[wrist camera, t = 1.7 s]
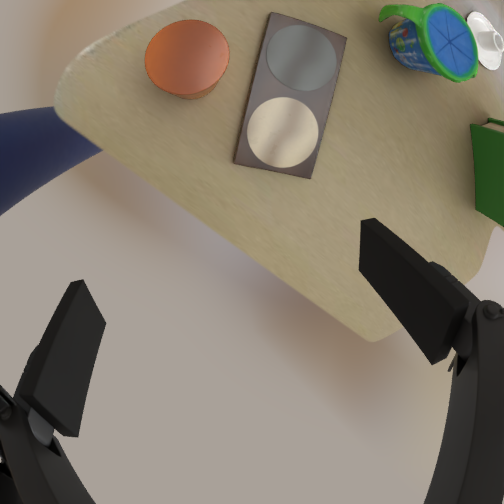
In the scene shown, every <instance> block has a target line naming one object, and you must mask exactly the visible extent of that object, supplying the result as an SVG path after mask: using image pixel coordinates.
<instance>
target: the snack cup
mask: <svg viewBox="0 0 504 504" xmlns="http://www.w3.org/2000/svg"><path fill="white" fill-rule="evenodd" d="M392 15H398V16H401V17H404V18H406V19H405V20H403V21H401V22H399V23H397V24H395V25H394V26H393V28H392V29H391V30H390V32H389V43H390V48H391V50H392V52H393V56H394V57H395V59H397V60H398V61H399V62H400V63H401V64H403V65H404V66H406V67H408V68H410V69H413V70H418V71H422V72H427V73H432V74H436V75H440V76H443V77H445V78H447V79H449V80H451V81H453V82H458V83H460V82H461V81H466V80H469V79H470V78H474V77H476V74H477V70H478V48H477V44H476V40H475V38H474V35H473V33H472V31H471V29H470V27H469V26H468V24H467V22H466V21H465V20H464V18H463V17H462V16H461V15H460V14H459V13H458V12H456V11H455V10H454V9H452V8H451V7H449V6H447V5H444V4H442V3H437V4H431V5H428V6H426V7H424V8H419V7H415V6H409V5H386V6H384V7H383V8H382V10H381V12H380V16H379V22H382V21H383V20H384V19H386V18H388V17H389V16H392Z"/></svg>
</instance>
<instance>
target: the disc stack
mask: <svg viewBox="0 0 504 504" xmlns="http://www.w3.org/2000/svg"><path fill="white" fill-rule="evenodd" d="M228 62H229V46H228V43H227V41H226V39H225V37H224V35H223V34H222V33H221V32H220V31H219V30H218V29H217V28H216V27H214V26H213V25H211V24H209V23H206V22H203V21H199V20H182V21H178V22H175V23H172V24H170V25H168V26H166V27H164V28H163V29H162V30H160V31H159V32H158V33H157V34H156V35H155V36H154V37H153V38H152V40H151V41H150V43H149V45H148V47H147V50H146V54H145V68H146V71H147V74H148V76H149V78H150V79H151V81H152V82H153V83H154V84H155V85H156V86H157V87H159V88H160V89H162V90H164V91H166V92H168V93H171V94H173V95H176V96H178V97H180V98H184V99H198V98H201V97H203V96H205V95H207V94H208V93H210V92H211V91H212V90H213V89H214V88H215V86H216V85H217V83H218V82H219V80H220V78H221V77H222V75H223V74H224V72H225V70H226V68H227V65H228Z"/></svg>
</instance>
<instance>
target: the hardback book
mask: <svg viewBox="0 0 504 504" xmlns="http://www.w3.org/2000/svg"><path fill="white" fill-rule="evenodd" d="M470 128H471V136H472V145H473V155H474V168H475V190H476V210H477V211H479V212H481V213H482V214H484V215H485V216H487V217H489V218H490V219H492V220H494V221H495V222H497V223H498V224H500V225H501V226H503V227H504V121H500V120H497V119H493V118H488V124H485V125H482V126H479V125H476V124H470Z"/></svg>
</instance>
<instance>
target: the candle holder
mask: <svg viewBox="0 0 504 504" xmlns="http://www.w3.org/2000/svg"><path fill="white" fill-rule="evenodd" d="M467 24H468V26H469V27H470V29H471V31H472V33H473V35H474V38H475V40H476V44H477V48H478V60H479V61H480V62H481V63H482V65H483V66H485V67H486V68H487V69H489V70H495V69H497V68H498V67H499V65H500V62H501V52H503V51H504V42H503V39H502V37H501V35H500V34H499V33H498V32H496V31H495V30H494V28H493V26H492V25H491V23H490V22H489V21H488V19H487V18H486V17H485V16H483V15H482V14H481V13H478V12H472V13H470V14H469V16H468V18H467Z"/></svg>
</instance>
